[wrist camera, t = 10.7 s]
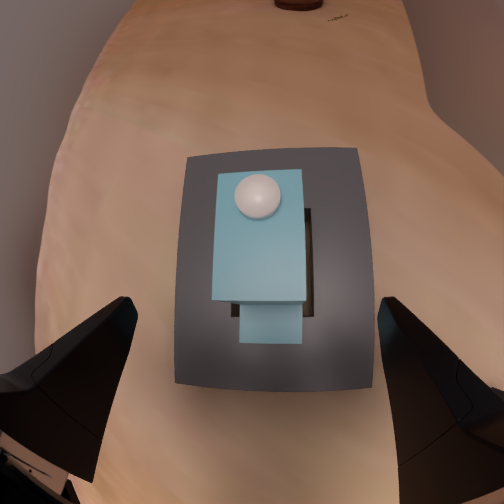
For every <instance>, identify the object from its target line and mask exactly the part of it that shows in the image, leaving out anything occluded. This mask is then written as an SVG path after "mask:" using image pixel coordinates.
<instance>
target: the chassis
mask: <svg viewBox="0 0 504 504" xmlns="http://www.w3.org/2000/svg"><path fill="white" fill-rule="evenodd" d="M292 169H302V184H303V201H304V222H306V221H309V230H310V255H311V304H312V316H304V317H302V344H262V343H239V329H240V304H233V303H227V302H220V301H214V300H212V276H213V252H214V232H215V214H216V199H217V184H218V174H223V173H236V172H250V171H267V170H292ZM374 329H375V313H374V279H373V262H372V249H371V238H370V228H369V219H368V211H367V204H366V197H365V190H364V184H363V178H362V172H361V166H360V161H359V156H358V151H357V148H338V147H319V148H283V149H264V150H250V151H238V152H228V153H218V154H209V155H201V156H194V157H187V164H186V171H185V179H184V188H183V197H182V206H181V216H180V227H179V239H178V253H177V269H176V289H175V324H174V365H175V383H178V384H185V385H193V386H201V387H209V388H219V389H231V390H245V391H266V392H317V391H337V390H351V389H362V388H372V379H373V363H374Z"/></svg>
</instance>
